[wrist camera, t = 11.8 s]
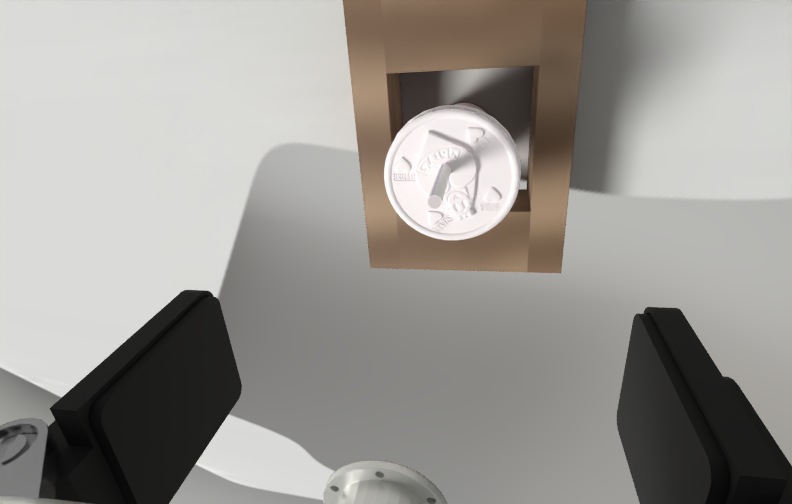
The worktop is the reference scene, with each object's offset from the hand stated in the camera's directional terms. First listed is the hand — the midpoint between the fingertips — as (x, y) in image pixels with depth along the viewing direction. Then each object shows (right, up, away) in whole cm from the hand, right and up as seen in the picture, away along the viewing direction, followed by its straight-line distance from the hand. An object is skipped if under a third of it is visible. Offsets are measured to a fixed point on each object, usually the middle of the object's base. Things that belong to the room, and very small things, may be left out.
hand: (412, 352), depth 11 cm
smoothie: (+4, +10, +20) cm, 23 cm away
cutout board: (+4, +10, +20) cm, 22 cm away
